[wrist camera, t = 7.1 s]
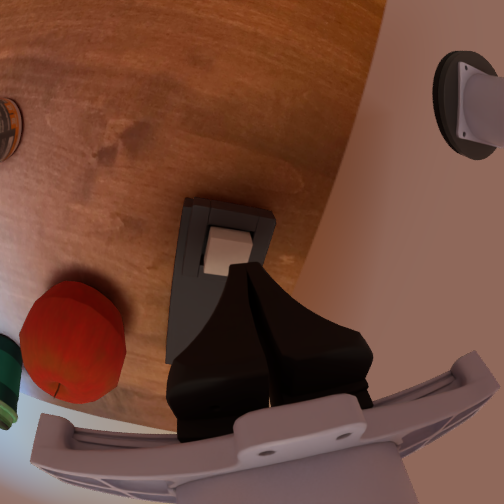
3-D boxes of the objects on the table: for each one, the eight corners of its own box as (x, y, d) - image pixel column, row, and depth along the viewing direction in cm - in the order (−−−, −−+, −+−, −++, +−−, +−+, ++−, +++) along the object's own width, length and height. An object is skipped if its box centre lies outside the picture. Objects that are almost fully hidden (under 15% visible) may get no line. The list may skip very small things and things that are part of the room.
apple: (46, 318, 25) (11, 399, 15) (50, 247, 21) (-10, 335, 12) (124, 348, 29) (108, 438, 19) (145, 286, 25) (122, 393, 15)
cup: (-5, 320, 25) (-40, 388, 14) (40, 353, 28) (15, 426, 18) (-8, 346, 27) (-35, 406, 17) (32, 374, 30) (12, 437, 20)
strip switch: (210, 225, 19) (210, 237, 18) (249, 231, 20) (253, 243, 19) (203, 259, 21) (203, 273, 19) (240, 265, 21) (243, 278, 20)
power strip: (187, 186, 21) (183, 202, 18) (274, 203, 23) (285, 221, 20) (166, 350, 30) (164, 375, 27) (227, 357, 31) (229, 381, 28)
